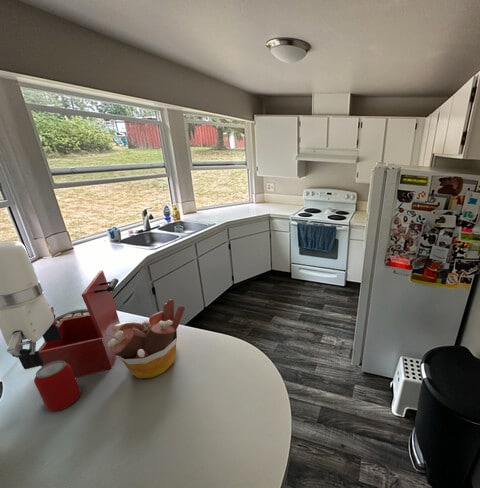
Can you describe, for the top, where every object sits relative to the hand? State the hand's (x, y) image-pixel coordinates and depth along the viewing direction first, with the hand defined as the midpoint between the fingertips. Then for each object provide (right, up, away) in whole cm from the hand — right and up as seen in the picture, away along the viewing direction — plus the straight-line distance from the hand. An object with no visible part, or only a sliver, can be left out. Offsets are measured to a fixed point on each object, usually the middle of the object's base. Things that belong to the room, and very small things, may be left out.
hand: (44, 352), depth 63 cm
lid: (-1, +9, +17) cm, 19 cm away
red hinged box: (-7, -11, +21) cm, 24 cm away
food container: (-20, -7, +29) cm, 36 cm away
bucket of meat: (+16, -12, +19) cm, 28 cm away
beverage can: (-1, -16, +6) cm, 17 cm away
